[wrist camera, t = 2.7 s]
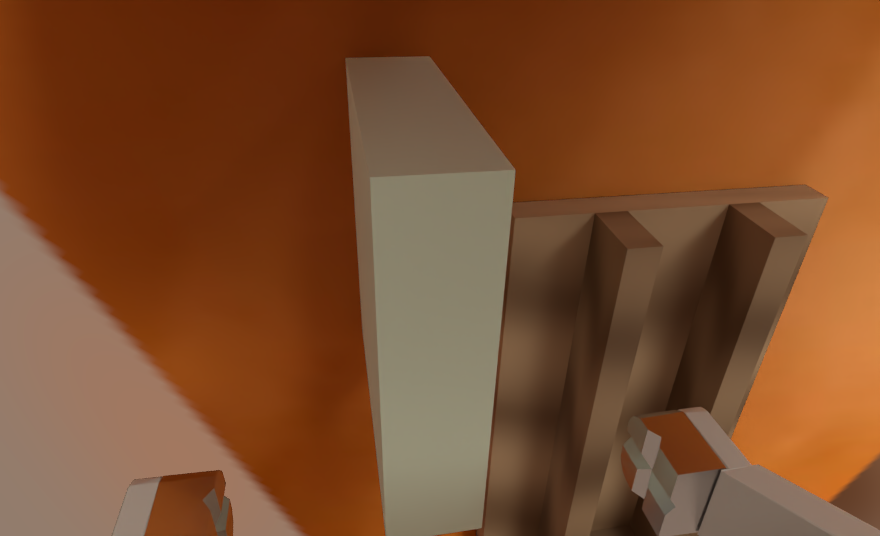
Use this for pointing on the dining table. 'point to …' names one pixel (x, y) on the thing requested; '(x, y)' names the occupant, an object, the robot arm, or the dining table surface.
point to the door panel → (428, 287)
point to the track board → (628, 339)
